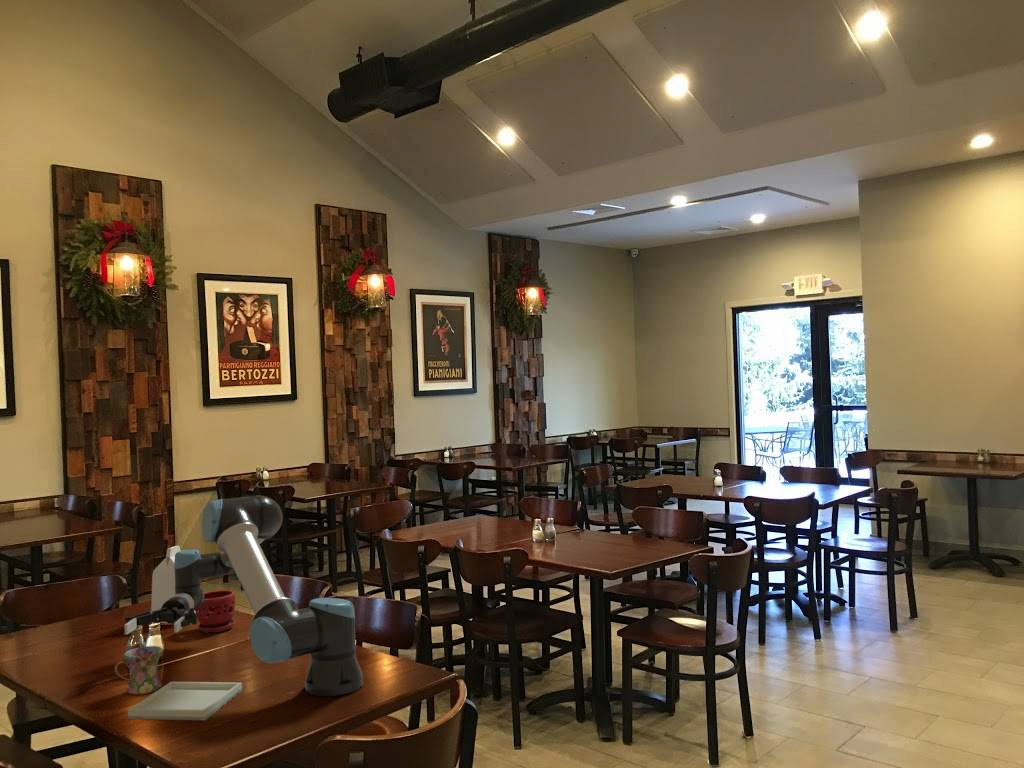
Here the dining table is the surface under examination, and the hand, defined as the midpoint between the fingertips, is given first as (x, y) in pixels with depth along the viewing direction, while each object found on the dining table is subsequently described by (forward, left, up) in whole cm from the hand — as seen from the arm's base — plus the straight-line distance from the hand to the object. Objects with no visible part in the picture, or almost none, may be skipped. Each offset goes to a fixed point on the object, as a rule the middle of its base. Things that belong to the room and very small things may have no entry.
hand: (150, 628), depth 234 cm
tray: (-20, +18, -14) cm, 30 cm away
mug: (-2, +10, -14) cm, 17 cm away
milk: (+26, -59, -14) cm, 66 cm away
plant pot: (+6, -49, -14) cm, 52 cm away
